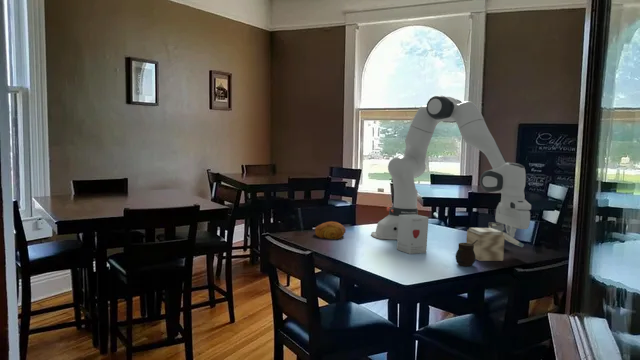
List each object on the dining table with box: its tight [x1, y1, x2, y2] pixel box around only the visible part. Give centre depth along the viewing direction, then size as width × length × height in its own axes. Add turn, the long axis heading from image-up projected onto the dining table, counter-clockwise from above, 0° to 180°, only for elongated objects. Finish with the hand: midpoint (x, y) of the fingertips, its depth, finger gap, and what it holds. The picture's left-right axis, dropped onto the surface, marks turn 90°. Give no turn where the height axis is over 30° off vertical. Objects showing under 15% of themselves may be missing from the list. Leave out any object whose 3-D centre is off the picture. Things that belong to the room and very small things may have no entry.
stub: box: [503, 231, 524, 248], centre depth 204 cm, size 10×9×1 cm
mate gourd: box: [455, 240, 478, 267], centre depth 188 cm, size 7×8×10 cm
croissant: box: [314, 220, 347, 240], centre depth 236 cm, size 14×16×8 cm
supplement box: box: [396, 214, 429, 255], centre depth 208 cm, size 9×9×15 cm
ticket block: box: [465, 227, 505, 262], centre depth 203 cm, size 10×12×11 cm
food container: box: [488, 221, 506, 232], centre depth 227 cm, size 12×6×10 cm, turn 168°
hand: (510, 236), depth 204 cm, fingers closed, pressing on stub
